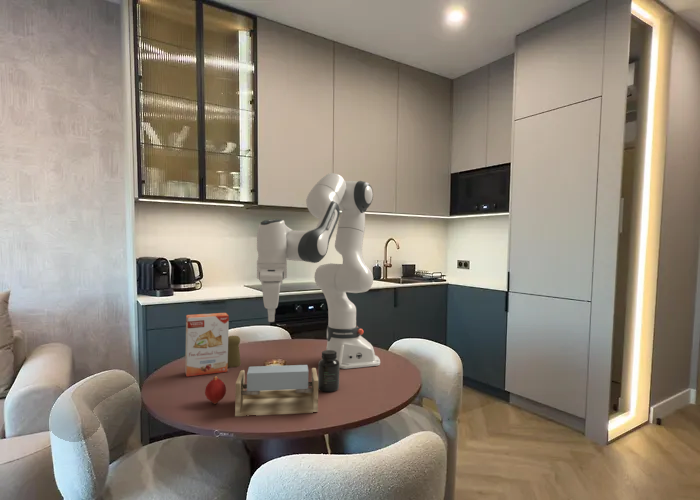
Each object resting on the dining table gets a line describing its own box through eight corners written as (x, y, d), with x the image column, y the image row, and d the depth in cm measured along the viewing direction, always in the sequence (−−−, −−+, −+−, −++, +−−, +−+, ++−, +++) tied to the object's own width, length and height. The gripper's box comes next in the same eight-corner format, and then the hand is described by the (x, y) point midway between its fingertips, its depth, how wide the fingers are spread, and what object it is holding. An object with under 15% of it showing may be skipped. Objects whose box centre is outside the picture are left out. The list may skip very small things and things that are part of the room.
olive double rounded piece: (243, 362, 153) (243, 334, 153) (237, 367, 147) (237, 338, 146) (228, 362, 153) (228, 334, 153) (221, 366, 147) (222, 337, 147)
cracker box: (186, 377, 135) (187, 317, 135) (184, 372, 140) (185, 314, 140) (228, 372, 141) (229, 314, 141) (225, 367, 147) (226, 311, 146)
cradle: (315, 397, 120) (315, 367, 120) (317, 412, 110) (318, 380, 109) (240, 400, 117) (240, 370, 117) (235, 416, 106) (235, 383, 106)
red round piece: (208, 399, 117) (208, 372, 117) (227, 399, 118) (228, 372, 117) (202, 407, 111) (202, 379, 111) (223, 407, 112) (223, 379, 112)
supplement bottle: (320, 384, 131) (320, 348, 131) (340, 385, 131) (341, 349, 130) (316, 392, 125) (316, 354, 124) (337, 393, 124) (338, 355, 124)
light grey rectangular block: (246, 391, 109) (247, 373, 109) (248, 383, 115) (249, 366, 115) (308, 388, 112) (308, 371, 112) (307, 381, 118) (307, 364, 118)
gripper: (262, 269, 128) (262, 311, 129) (259, 276, 108) (259, 326, 108) (282, 269, 129) (282, 311, 130) (282, 276, 109) (282, 325, 109)
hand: (271, 318), depth 119 cm, fingers open, 8 cm apart
